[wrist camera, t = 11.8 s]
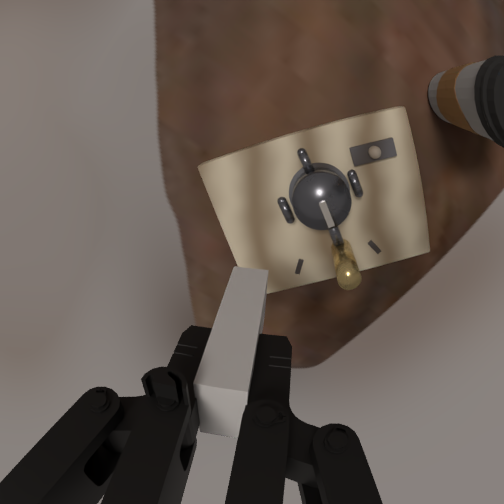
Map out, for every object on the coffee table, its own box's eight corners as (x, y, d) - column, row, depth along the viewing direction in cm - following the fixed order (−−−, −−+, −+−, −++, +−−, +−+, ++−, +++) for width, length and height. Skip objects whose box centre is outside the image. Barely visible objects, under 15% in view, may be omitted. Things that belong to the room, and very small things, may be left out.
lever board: (399, 106, 30) (409, 107, 27) (424, 244, 37) (434, 257, 34) (202, 163, 36) (193, 169, 33) (252, 288, 43) (249, 304, 40)
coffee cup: (486, 110, 28) (565, 127, 15) (443, 143, 31) (515, 173, 18) (451, 52, 26) (526, 39, 12) (405, 84, 29) (470, 79, 16)
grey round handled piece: (260, 163, 33) (252, 178, 27) (339, 131, 30) (350, 138, 24) (309, 269, 38) (310, 303, 32) (379, 243, 35) (394, 274, 29)
